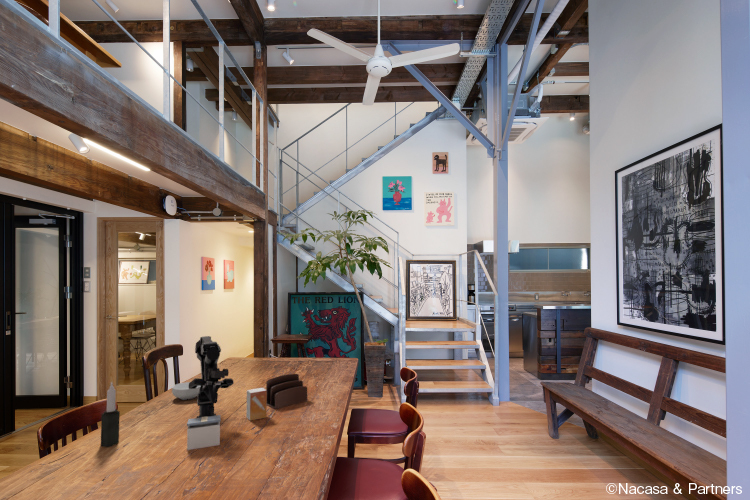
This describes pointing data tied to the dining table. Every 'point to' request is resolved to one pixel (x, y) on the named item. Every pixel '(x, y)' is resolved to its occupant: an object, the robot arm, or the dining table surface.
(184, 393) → the cereal bowl
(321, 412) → the dining table surface
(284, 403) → the letter holder
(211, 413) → the robot arm
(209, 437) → the storage box
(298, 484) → the dining table surface
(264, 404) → the small box
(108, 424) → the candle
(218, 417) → the lid
